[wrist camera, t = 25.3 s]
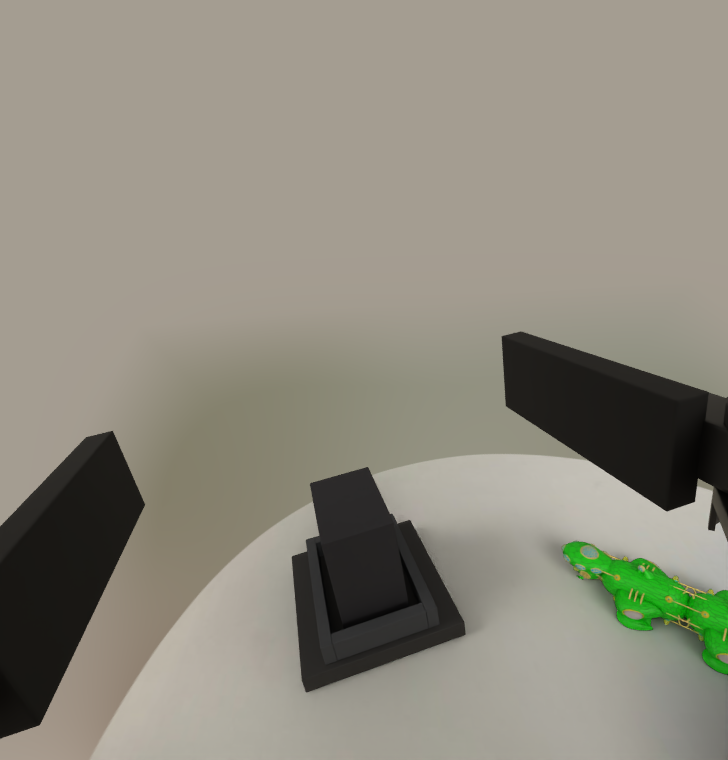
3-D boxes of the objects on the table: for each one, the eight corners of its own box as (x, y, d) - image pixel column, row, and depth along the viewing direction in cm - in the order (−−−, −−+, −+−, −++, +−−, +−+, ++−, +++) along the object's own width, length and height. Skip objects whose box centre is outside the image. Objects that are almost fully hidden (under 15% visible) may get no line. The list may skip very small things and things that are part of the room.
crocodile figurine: (575, 549, 41) (575, 515, 39) (850, 660, 28) (865, 615, 27) (548, 594, 37) (547, 558, 35) (855, 748, 24) (873, 700, 23)
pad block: (345, 635, 35) (321, 544, 32) (330, 561, 43) (309, 483, 40) (410, 612, 36) (393, 522, 32) (383, 544, 44) (367, 466, 41)
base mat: (305, 693, 33) (295, 663, 31) (294, 566, 46) (287, 541, 44) (465, 634, 35) (462, 604, 33) (411, 529, 48) (407, 505, 46)
